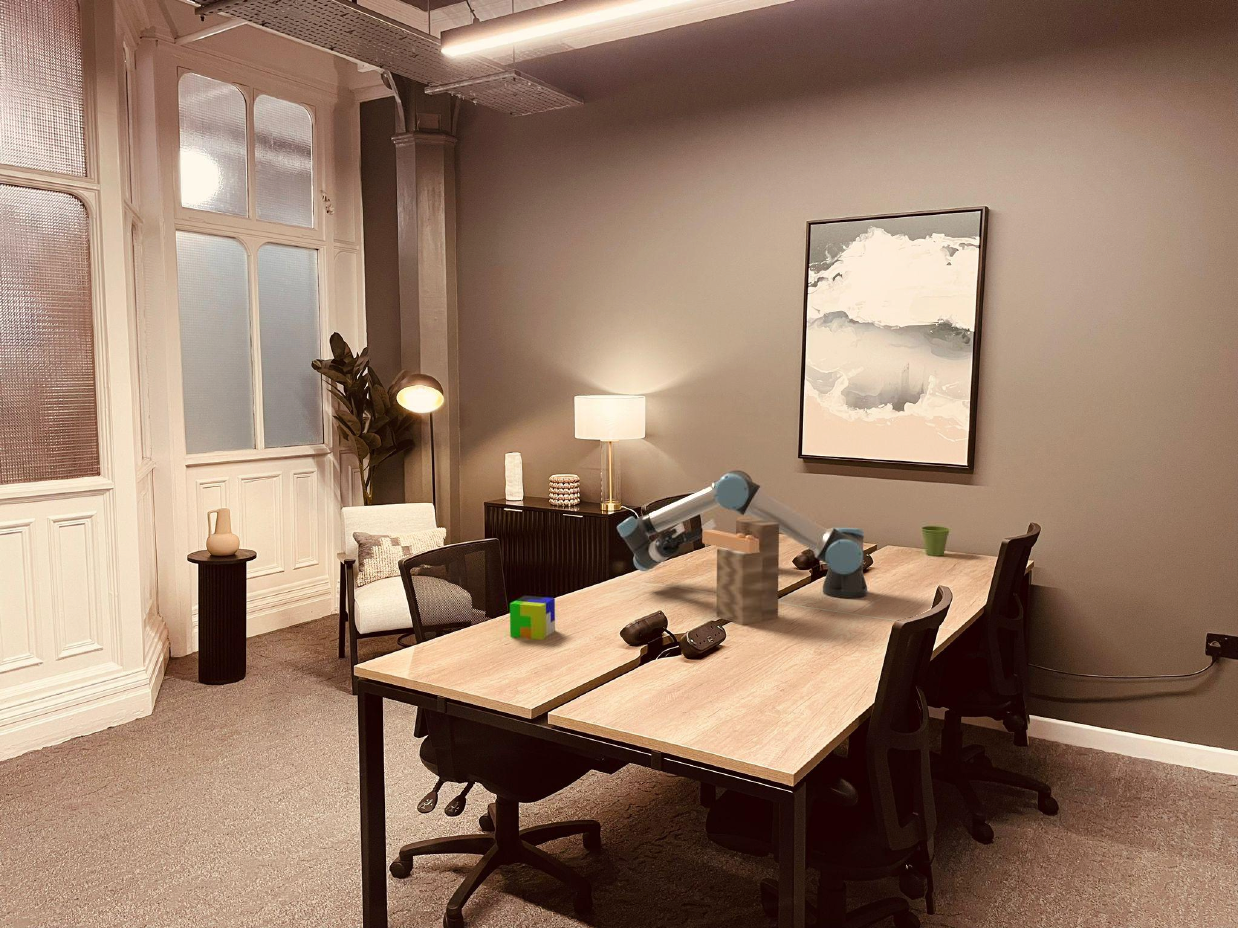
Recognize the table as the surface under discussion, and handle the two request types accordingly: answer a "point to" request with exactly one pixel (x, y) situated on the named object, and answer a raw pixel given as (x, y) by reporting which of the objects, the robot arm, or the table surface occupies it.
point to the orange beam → (731, 541)
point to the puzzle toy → (532, 617)
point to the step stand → (749, 576)
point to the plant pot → (935, 539)
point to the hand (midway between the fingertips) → (699, 524)
